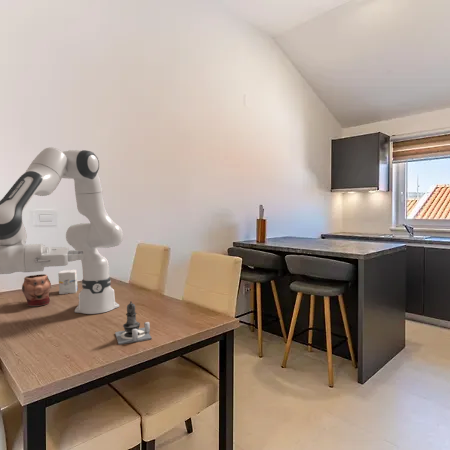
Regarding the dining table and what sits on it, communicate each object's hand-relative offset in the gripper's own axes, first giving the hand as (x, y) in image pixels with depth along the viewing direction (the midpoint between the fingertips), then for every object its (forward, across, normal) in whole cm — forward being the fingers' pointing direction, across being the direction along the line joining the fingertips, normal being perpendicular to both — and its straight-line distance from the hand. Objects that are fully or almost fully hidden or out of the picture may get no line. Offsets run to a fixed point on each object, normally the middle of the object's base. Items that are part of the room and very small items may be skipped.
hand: (83, 254), depth 114 cm
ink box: (-8, +80, +30) cm, 86 cm away
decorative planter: (-21, +62, +30) cm, 72 cm away
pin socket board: (+15, -2, +30) cm, 34 cm away
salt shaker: (+15, -2, +29) cm, 33 cm away
